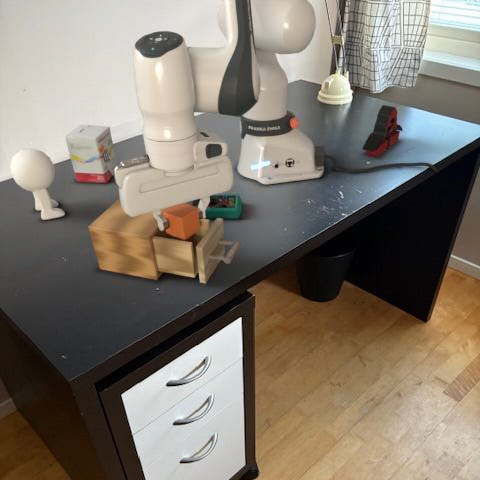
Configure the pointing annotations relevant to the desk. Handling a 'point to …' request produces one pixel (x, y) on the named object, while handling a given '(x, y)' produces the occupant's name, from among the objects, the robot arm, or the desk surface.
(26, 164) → the toy character
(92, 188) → the desk surface
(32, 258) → the desk surface
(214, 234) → the drawer
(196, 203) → the digital multimeter
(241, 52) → the robot arm
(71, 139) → the ink box
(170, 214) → the block
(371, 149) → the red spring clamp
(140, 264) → the cabinet
